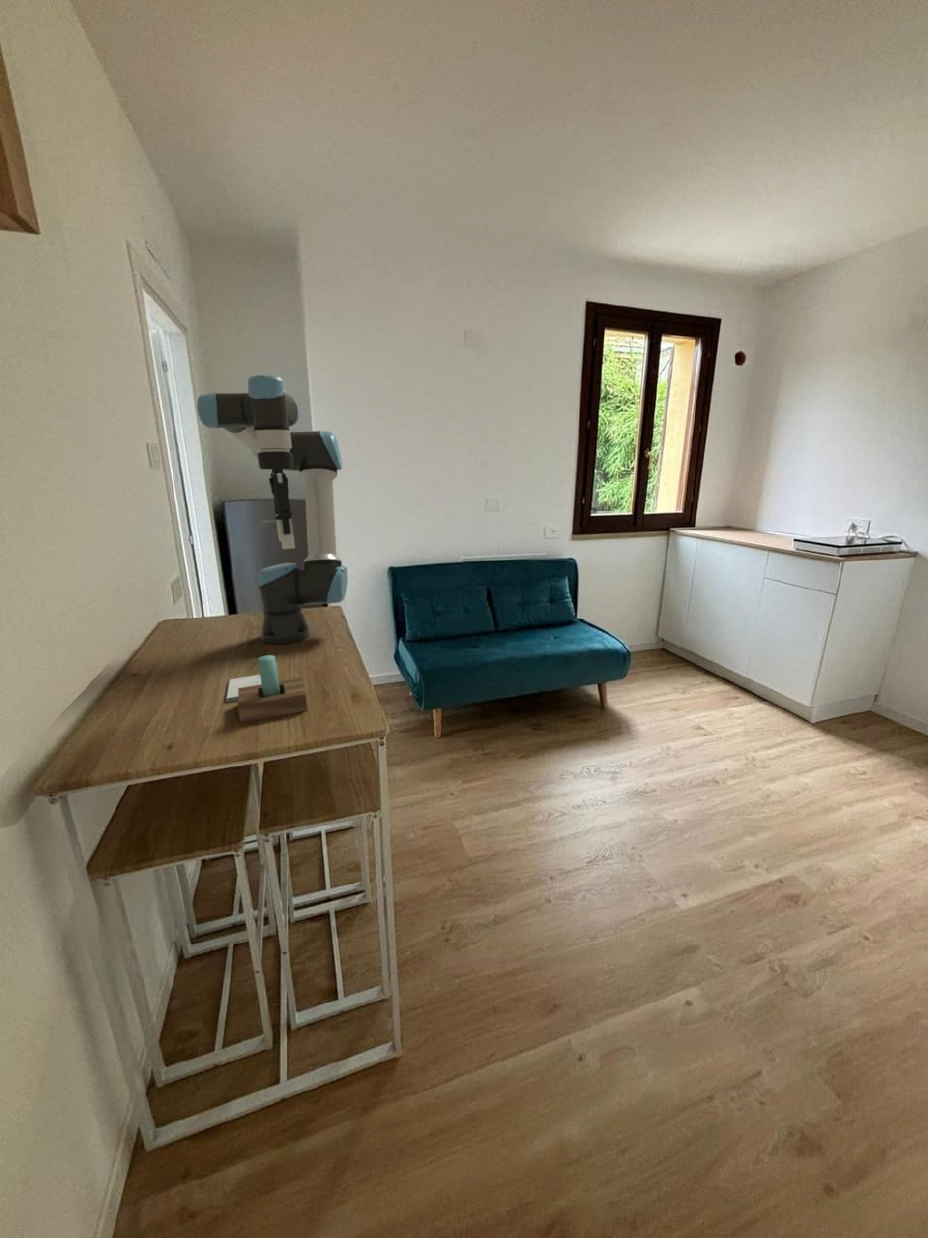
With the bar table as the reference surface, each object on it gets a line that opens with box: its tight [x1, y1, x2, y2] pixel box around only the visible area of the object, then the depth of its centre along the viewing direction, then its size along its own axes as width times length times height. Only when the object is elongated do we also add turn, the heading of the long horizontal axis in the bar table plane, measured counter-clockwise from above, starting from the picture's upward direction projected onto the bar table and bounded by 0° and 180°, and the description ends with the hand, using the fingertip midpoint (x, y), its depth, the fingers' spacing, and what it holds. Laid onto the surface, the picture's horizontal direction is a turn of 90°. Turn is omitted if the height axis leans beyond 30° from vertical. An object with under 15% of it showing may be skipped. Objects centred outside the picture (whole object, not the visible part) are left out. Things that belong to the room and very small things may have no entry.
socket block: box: [237, 677, 308, 724], centre depth 116 cm, size 10×14×4 cm
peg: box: [257, 654, 280, 697], centre depth 115 cm, size 4×4×12 cm
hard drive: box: [225, 674, 262, 704], centre depth 127 cm, size 2×8×12 cm
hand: (286, 544), depth 122 cm, fingers open, 13 cm apart
